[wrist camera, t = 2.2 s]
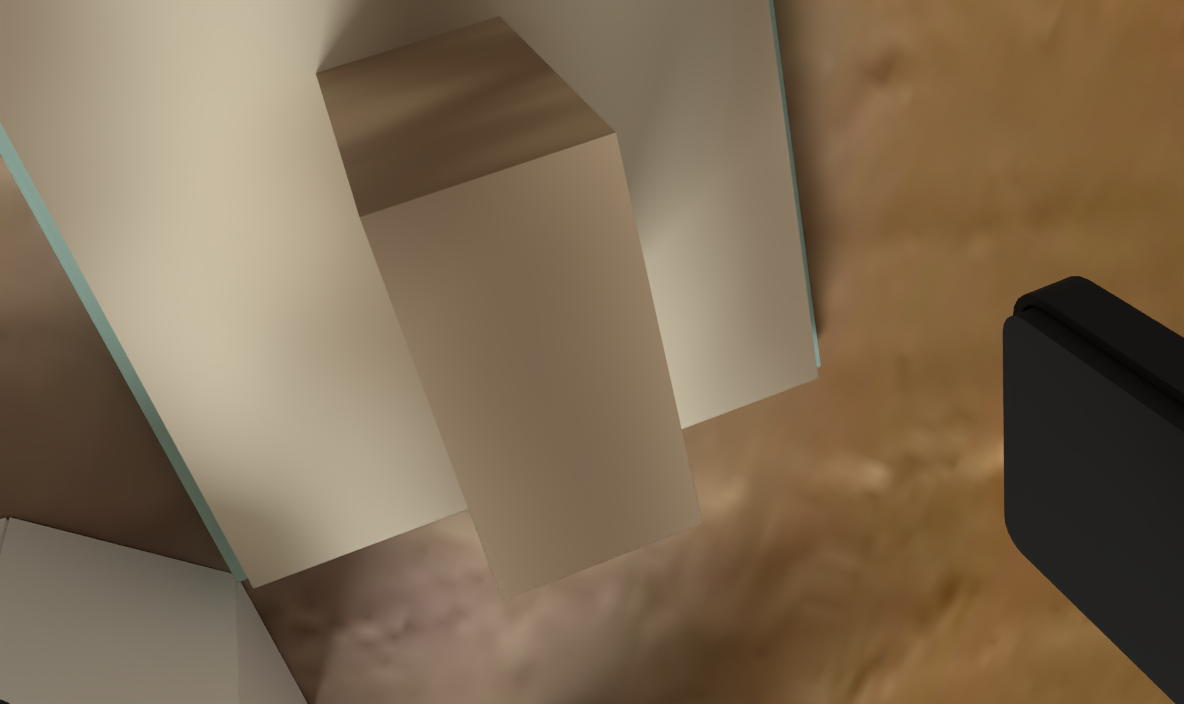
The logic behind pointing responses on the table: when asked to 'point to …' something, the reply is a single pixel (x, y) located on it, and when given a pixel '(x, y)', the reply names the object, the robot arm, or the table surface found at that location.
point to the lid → (425, 253)
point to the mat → (6, 149)
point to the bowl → (127, 627)
